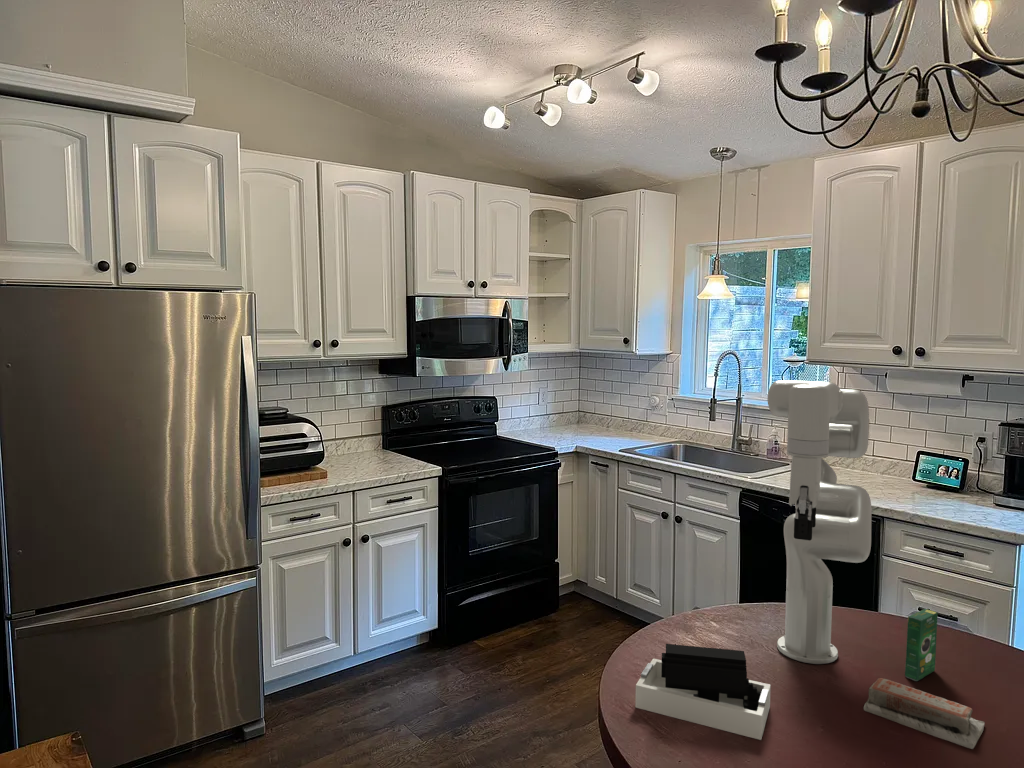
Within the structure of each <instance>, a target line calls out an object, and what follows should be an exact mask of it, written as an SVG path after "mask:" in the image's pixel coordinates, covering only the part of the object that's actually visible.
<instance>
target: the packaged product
mask: <svg viewBox="0 0 1024 768" xmlns="http://www.w3.org/2000/svg"><path fill="white" fill-rule="evenodd" d="M863 711H865V712H867V713H869V714H873V715H876V716H879V717H882V718H884V719H886V720H890V721H892V722H895V723H896V724H900V725H902V726H906V727H908V728H911V729H914V730H916V731H918V732H922V733H924V734H927V735H930V736H933V737H934V738H939V739H941V740H945V741H948V742H951V743H953V744H956V745H958V746H962V747H963V748H967V749H971V750H974V748H975V747H976V745H977V743H978V741H979V739H980V737H981V735H982V733H983V731H984V727H985V723H986V722H985V721H983V720H978V719H975V718H973V717H972V713H973V708H971V707H970V706H967V705H963V704H961V703H958V702H956V701H953V700H949V699H946V698H944V697H941V696H937V695H934V694H931V693H929V692H926V691H923V690H920V689H916V688H914V687H911V686H908V685H905V684H902V683H899V682H896V681H893V680H891V679H887V678H882V677H878V678H877V679H876V681H875V682H873V684H871V686H870V687H869V688H868V698H867V700H866V702H864V706H863Z"/></svg>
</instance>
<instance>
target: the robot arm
mask: <svg viewBox="0 0 1024 768" xmlns="http://www.w3.org/2000/svg"><path fill="white" fill-rule="evenodd" d="M767 406H768V409H769V411H770V413H771V415H773V416H775V417H779V418H786V419H787V438H786V439H787V441H786V443H787V444H786V455H789V456H791V464H790V466H791V467H790V478H789V479H790V480H789V481H790V482H789V495H788V499H789V500H788V505H789V506H790V507H793V506H794V505H795V513H792V514H790V515H789V516H787V518H786V519H785V521H784V523H783V538H784V546H785V547H784V548H785V555H786V580H785V581H786V584H785V585H786V588H785V589H786V591H785V623H784V625H785V626H784V635H782V636H781V637H779V638H778V639H777V642H776V646H777V649H778V650H779V652H780V653H781V654H783V655H784V656H786V657H787V658H790V659H791V660H795V661H798V662H800V663H806V664H813V665H824V664H826V665H827V664H830V663H833V662H835V661H836V660H837V659H838V657H839V650H838V648H837V647H836V646H835V645H834V644H832V643H831V641H832V617H833V616H832V614H833V613H832V612H833V592H834V591H833V587H834V585H833V583H834V582H833V576H832V573H831V571H830V569H829V568H828V566H827V564H825V562H824V561H823V560H829V561H830V560H831V561H838V562H839V561H840V562H845V563H853V564H854V563H855V564H858V563H863V562H865V561H866V560H867V559H868V557H869V556H870V553H871V547H872V502H871V497H870V494H869V493H868V490H866V489H865V488H864V487H862V486H858V485H853V484H846V483H845V484H844V483H837V481H838V477H837V474H836V472H835V470H834V469H833V468H832V466H831V465H829V463H828V462H827V461H826V460H824V458H829V457H832V458H833V457H834V458H846V459H847V458H848V459H858V458H861V457H862V458H863V457H864V456H865V454H866V453H867V452H868V448H869V438H870V437H869V433H870V432H869V429H870V428H869V427H870V425H869V423H870V408H869V403H868V398H867V396H866V395H865V393H864V392H862V391H861V390H859V389H852V388H851V389H850V388H849V389H848V388H847V389H846V388H840V386H838V385H837V384H836V383H835V382H834V383H833V382H830V381H818V380H817V381H816V380H812V381H811V380H783V379H782V380H779V379H778V380H775V381H773V382H772V383H771V384H770V386H769V388H768V391H767Z"/></svg>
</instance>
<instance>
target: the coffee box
mask: <svg viewBox="0 0 1024 768" xmlns="http://www.w3.org/2000/svg"><path fill="white" fill-rule="evenodd" d="M938 613H939V612H938V611H934V610H931V609H928V608H924V609H922V610H919V611H917V612H915V613H913V614H911V615H908V616H907V631H906V633H907V634H906V646H905V647H906V649H905V651H906V652H905V654H906V655H905V669H904V677H906V678H907V679H910V680H912V681H914V682H918V681H920V680H922V679H924V678H925V677H927V676H928V675H930V674H932V673H933V672H935V670H936V659H937V658H936V657H937V656H936V652H937V633H938V632H937V630H938V617H939V616H938Z"/></svg>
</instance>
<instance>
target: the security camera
mask: <svg viewBox="0 0 1024 768" xmlns="http://www.w3.org/2000/svg"><path fill="white" fill-rule="evenodd" d="M661 660H662V671H661V677H663V678H665V687H666V688H675V689H684V690H694V691H698V694H693V696H695V697H699V698H703V699H707V700H711V701H715V702H719V693H722V694H727V698H734V699H743V705H744V709H748V710H753V711H757V707H758V706H759V699H760V696H761V691H757V687H753V683H749V680H750V678H748V672H747V671H748V670H747V658H746V653H745V651H744V650H737V649H725V648H716V647H715V648H714V647H703V646H693V645H684V644H683V645H682V644H673V643H672V644H671V643H665V652H661ZM744 696H747V700H746V699H744Z"/></svg>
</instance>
